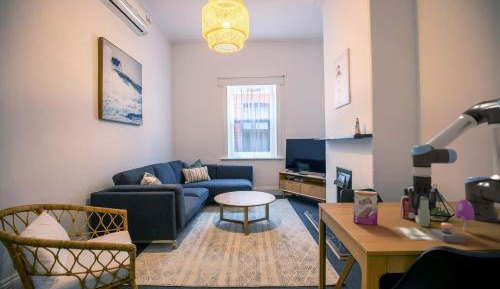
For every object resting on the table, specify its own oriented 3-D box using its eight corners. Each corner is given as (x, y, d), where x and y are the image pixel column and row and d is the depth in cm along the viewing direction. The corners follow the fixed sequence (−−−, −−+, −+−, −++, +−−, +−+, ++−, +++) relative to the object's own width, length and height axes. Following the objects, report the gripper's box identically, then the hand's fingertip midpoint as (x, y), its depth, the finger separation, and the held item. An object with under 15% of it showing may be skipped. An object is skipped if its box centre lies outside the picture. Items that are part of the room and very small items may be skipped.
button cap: (448, 232, 101) (448, 222, 101) (455, 235, 97) (455, 225, 97) (438, 231, 102) (438, 222, 102) (445, 235, 98) (445, 225, 98)
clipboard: (437, 229, 111) (437, 228, 111) (463, 243, 95) (463, 242, 95) (392, 227, 114) (392, 226, 114) (410, 240, 98) (410, 239, 98)
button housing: (450, 235, 103) (450, 229, 103) (464, 242, 95) (464, 236, 95) (430, 234, 104) (430, 228, 104) (443, 241, 96) (443, 235, 96)
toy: (476, 235, 104) (476, 202, 104) (456, 232, 107) (456, 200, 107) (472, 230, 109) (472, 199, 109) (453, 228, 113) (453, 197, 113)
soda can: (418, 220, 125) (417, 198, 125) (404, 219, 127) (404, 197, 127) (411, 216, 132) (411, 195, 132) (398, 215, 133) (398, 194, 133)
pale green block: (424, 223, 118) (424, 196, 118) (429, 226, 114) (428, 198, 114) (416, 223, 118) (415, 196, 119) (420, 226, 115) (420, 198, 115)
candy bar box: (353, 223, 120) (353, 191, 120) (353, 220, 125) (353, 190, 125) (378, 226, 115) (377, 193, 116) (377, 223, 120) (377, 191, 120)
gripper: (435, 174, 119) (435, 220, 119) (400, 174, 121) (400, 219, 121) (445, 176, 112) (446, 225, 111) (408, 176, 114) (408, 223, 114)
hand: (422, 221), depth 116 cm, fingers closed on pale green block, 4 cm apart
